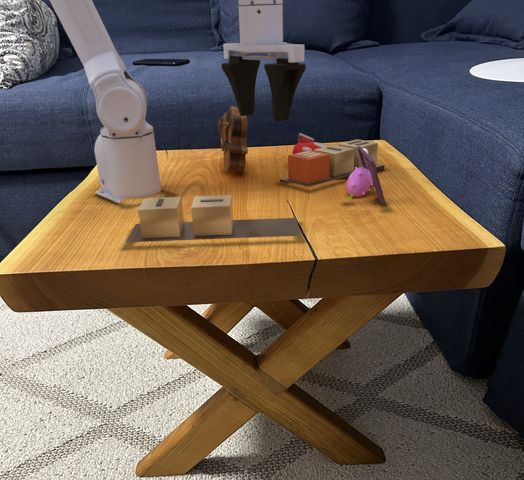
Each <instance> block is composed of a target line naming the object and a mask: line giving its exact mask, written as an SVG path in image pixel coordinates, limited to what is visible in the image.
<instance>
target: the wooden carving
mask: <svg viewBox="0 0 524 480" xmlns="http://www.w3.org/2000/svg"><path fill="white" fill-rule="evenodd" d="M217 127H218V133H219V135H220V149H221V151H222V152H223V158H222V159H223V168H224V170H225V171H226V172H234V173H240V174H242V173H243V172H245V169H246V167H247V159H246V158H247V157H246V156H247V155H248V153H249V150H248V149H249V147H248V146H247V139H248V138H247V137H248V117H247V115H246V116H240V113H239V110H238V106H237V105H236V106H233V105H231V106H230V107H229V108H228V111H227V112H224V113H223V115H222V117H221V118H220V119H219V120H218V124H217Z"/></svg>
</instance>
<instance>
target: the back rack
mask: <svg viewBox="0 0 524 480" xmlns="http://www.w3.org/2000/svg"><path fill="white" fill-rule="evenodd" d="M358 146H360V147H361V148H365V149H367V150H368V155H369V156H370V157H371V158H372V159H373V160H374V163H375V167H376V170H377V173H379V172H382V171H385V164H381V163H378V162H377V161H378V150H379V149H378V148H379V142H375V141H369V140H363V139H353V140H349V141H345V142H340V143H338V145H336V144H332V145H328V146H327V147H323V148H319V149H315V150H314V151H316V152H321V153H326V154H330V168H329V178H326V179H322V180H319V181H315V182H311V183H305V182H301V181H297V180H293V179H289V178H288V176H287V177H286V176H285V177H283V178H279V183H293V184H295V185H301V186H304V187H307V188H311V187H313V186H318V185H320V184H324V183H328V182H331V181H346V180H348V178H349V176H350V175H351V174H352V172H353V171H354V170H355V167H357V168H359V167H362V166H363V165H362V162H361V159H360V155H359V152H358V148H357V147H358ZM365 160H366V159H365ZM365 160H364V161H365ZM366 162H367V160H366ZM366 162H365V165H366ZM367 165H368V163H367ZM367 165H366V168H367V169H368V167H369V166H368V167H367Z"/></svg>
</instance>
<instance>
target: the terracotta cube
mask: <svg viewBox="0 0 524 480" xmlns="http://www.w3.org/2000/svg"><path fill="white" fill-rule="evenodd" d="M329 168H330V154H326V153H321V152H316V151H311V150H308V151H303V152H299V153H295V154H292V153H291V154H288V155H287V177H288V178H289V179H293V180H297V181H301V182H305V183H311V182H315V181H319V180H322V179H326V178H329Z"/></svg>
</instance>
